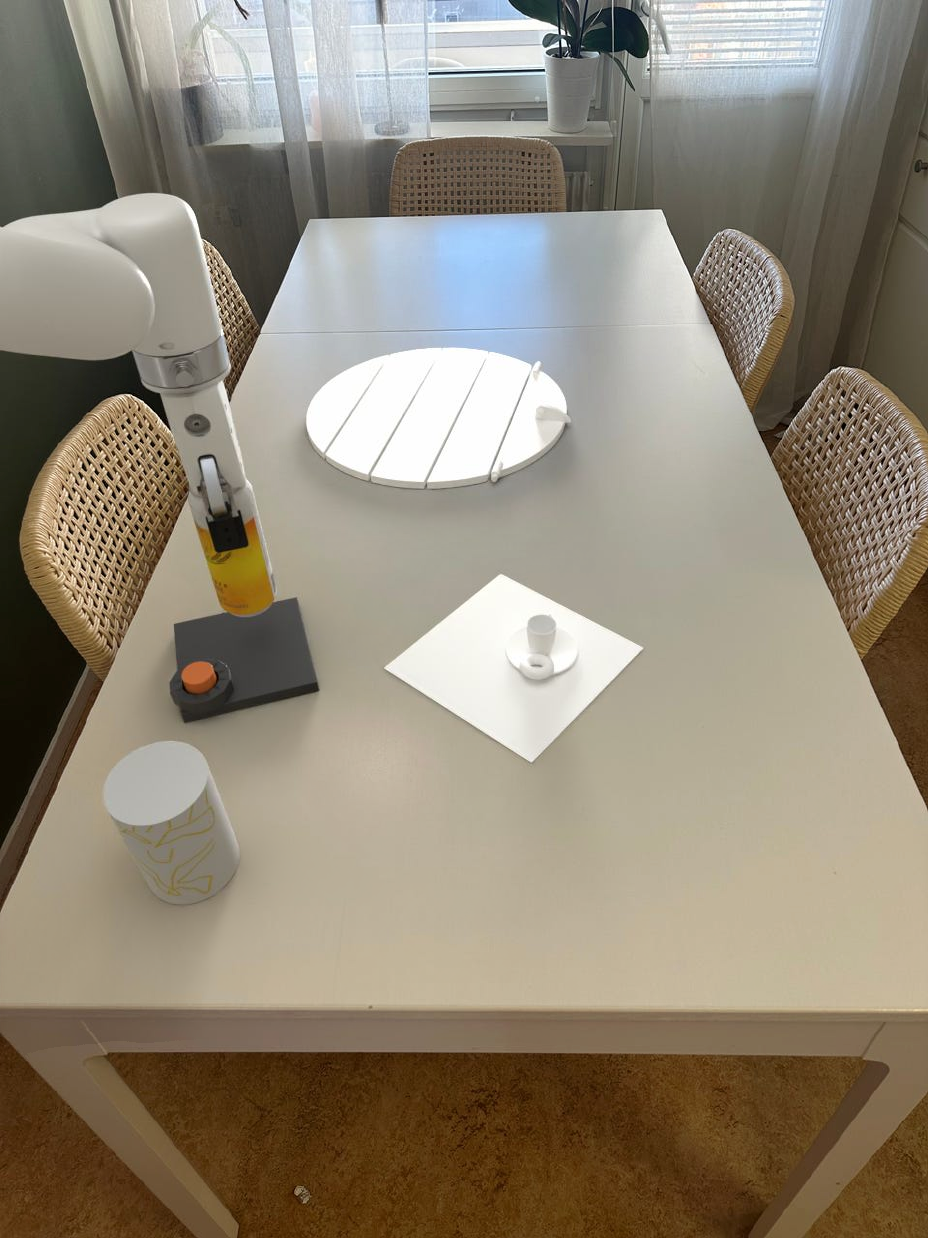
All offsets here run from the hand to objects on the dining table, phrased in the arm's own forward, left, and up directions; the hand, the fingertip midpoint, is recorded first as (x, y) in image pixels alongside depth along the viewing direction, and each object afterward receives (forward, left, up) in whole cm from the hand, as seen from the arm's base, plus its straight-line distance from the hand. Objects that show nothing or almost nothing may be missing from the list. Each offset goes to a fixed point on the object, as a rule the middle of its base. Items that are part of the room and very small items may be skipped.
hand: (228, 526), depth 85 cm
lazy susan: (+32, +41, -17) cm, 55 cm away
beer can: (0, 0, -10) cm, 10 cm away
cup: (-9, -26, -17) cm, 32 cm away
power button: (-6, -6, -14) cm, 17 cm away
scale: (-2, -2, -16) cm, 17 cm away
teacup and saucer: (+26, -11, -17) cm, 33 cm away
